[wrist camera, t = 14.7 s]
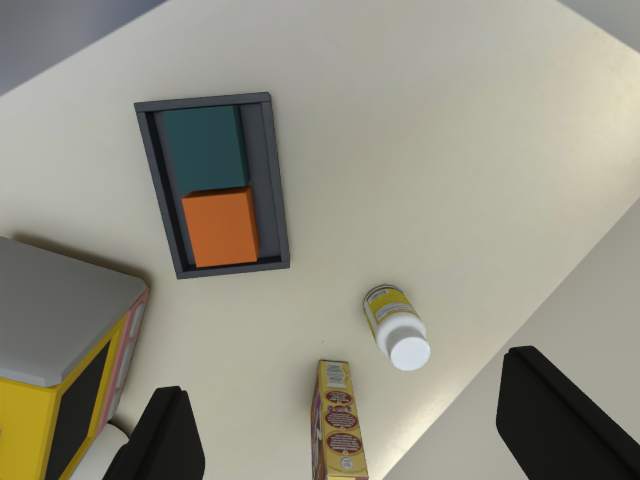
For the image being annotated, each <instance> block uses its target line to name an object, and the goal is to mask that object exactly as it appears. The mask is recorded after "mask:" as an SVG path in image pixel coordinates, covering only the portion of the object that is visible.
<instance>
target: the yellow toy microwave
mask: <svg viewBox="0 0 640 480" xmlns="http://www.w3.org/2000/svg"><path fill="white" fill-rule="evenodd" d="M149 292H150V289H149V288H148V287H147V286H146V284H145V283H144V282H143V280H142V279H139V278H136V277H133V276H129V275H126V274H123V273H120V272H116V271H113V270H110V269H106V268H103V267H100V266H97V265H93V264H90V263H87V262H83V261H80V260H77V259H74V258H70V257H67V256H64V255H60V254H57V253H54V252H51V251H47V250H44V249H41V248H37V247H34V246H31V245H28V244H24V243H21V242H18V241H14V240H11V239H8V238H5V237H1V236H0V480H69V479H70V478H71V476H72V475H73V473H74V472H75V470H76V469H77V467H78V465H79V464H80V462H81V461H82V459H83V458H84V456H85V454H86V453H87V451H88V450H89V448H90V447H91V445H92V443H93V442H94V440H95V439H96V437H97V436H98V435H99V434H100V433H101V431H102V429H103V428H104V426H105V425H106V423H107V421H108V420H110V419H111V418H112V417H113V415H114V413H115V411H116V409H117V406H118V404H119V401H120V397H121V393H122V390H123V386H124V383H125V379H126V375H127V372H128V368H129V364H130V361H131V357H132V354H133V350H134V346H135V343H136V339H137V335H138V332H139V328H140V324H141V321H142V317H143V314H144V310H145V306H146V303H147V299H148V295H149Z"/></svg>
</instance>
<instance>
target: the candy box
mask: <svg viewBox="0 0 640 480" xmlns="http://www.w3.org/2000/svg"><path fill="white" fill-rule="evenodd" d="M311 449H312V480H368V479H369V476H368V471H367V465H366V460H365V454H364V449H363V443H362V438H361V432H360V426H359V421H358V416H357V410H356V404H355V398H354V393H353V388H352V382H351V377H350V371H349V365H348V363H342V362H330V361H319V365H318V372H317V379H316V385H315V390H314V396H313V402H312V407H311Z"/></svg>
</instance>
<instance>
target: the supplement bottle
mask: <svg viewBox="0 0 640 480" xmlns="http://www.w3.org/2000/svg"><path fill="white" fill-rule="evenodd" d="M364 313H365V316H366V318H367V321H368V323H369V326H370V329H371V331H372V334H373V336H374V339H375V342H376V344H377V346H378V348H379V349H380V351H381V352H382V353H383V354H385V355H386V356H388V357H389V358H390V360H391V362H392V364H393V365H394V366H395V367H396V368H398V369H400V370H403V371H412V370H416V369H418V368H420V367H421V366H423V365H424V364H425V363H426V362H427V360H428V359H429V356H430V347H429V344H428V343H427V341H426V329H425V326H424V324H423V322H422V320H421V319H420V317H419V316H418V315H417V313H416V312H415V310H414V309H413V307H412V306H411V304H410V303H409V301H408V299H407V298H406V297H405V295H404V294H403V293H402V291H400V290H399V289H398V288H396V287H393V286H380V287H377V288H375V289H373V290H372V291H371V292H370V293H369V294H368V295H367V297H366V298H365V301H364Z"/></svg>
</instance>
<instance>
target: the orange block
mask: <svg viewBox="0 0 640 480" xmlns="http://www.w3.org/2000/svg"><path fill="white" fill-rule="evenodd" d="M182 204H183V208H184V212H185V217H186V221H187V226H188V230H189V235H190V239H191V244H192V248H193V253H194V257H195V262H196V266H197V267H204V266H214V265H224V264H234V263H244V262H254V261H257V258H258V254H259V251H260V240H259V234H258V227H257V220H256V214H255V207H254V200H253V194H252V187H251V186H241V187H230V188H220V189H209V190H198V191H193V192H191V193H190V194H188V195H187V196H185V197H184V198H182Z"/></svg>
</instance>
